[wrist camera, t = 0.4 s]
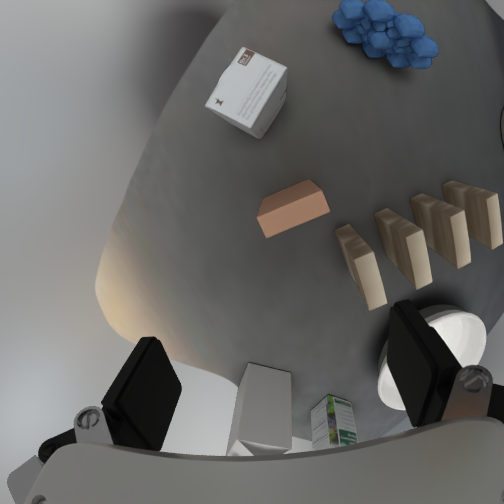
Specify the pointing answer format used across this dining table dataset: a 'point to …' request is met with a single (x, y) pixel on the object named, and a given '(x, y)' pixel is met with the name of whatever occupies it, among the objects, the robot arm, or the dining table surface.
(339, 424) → the syrup box
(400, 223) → the birch domino
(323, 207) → the terracotta domino
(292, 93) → the dining table surface
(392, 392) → the bowl
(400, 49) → the grapes
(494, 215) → the birch domino
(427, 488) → the robot arm
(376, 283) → the birch domino
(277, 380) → the milk carton
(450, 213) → the birch domino
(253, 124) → the skincare box
